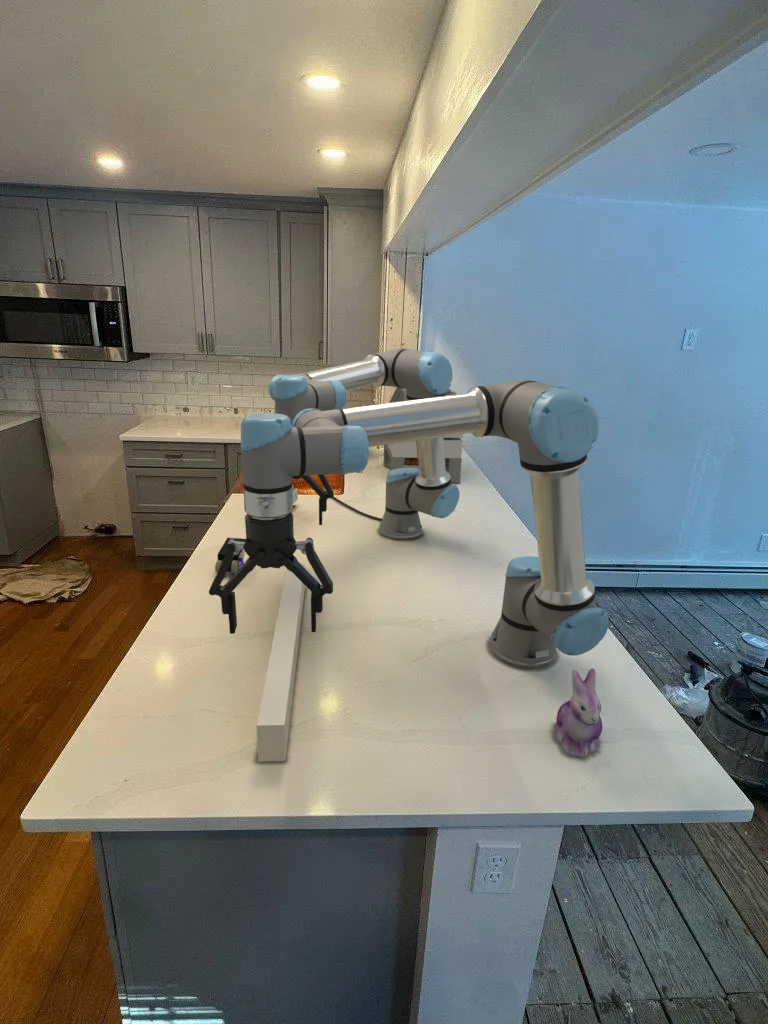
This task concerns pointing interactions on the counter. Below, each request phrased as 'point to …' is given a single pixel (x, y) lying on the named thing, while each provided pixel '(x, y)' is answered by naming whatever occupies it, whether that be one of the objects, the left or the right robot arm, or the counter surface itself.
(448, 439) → the transformer
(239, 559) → the black wheeled rover
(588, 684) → the figurine
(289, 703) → the beam
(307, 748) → the counter surface
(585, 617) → the right robot arm
